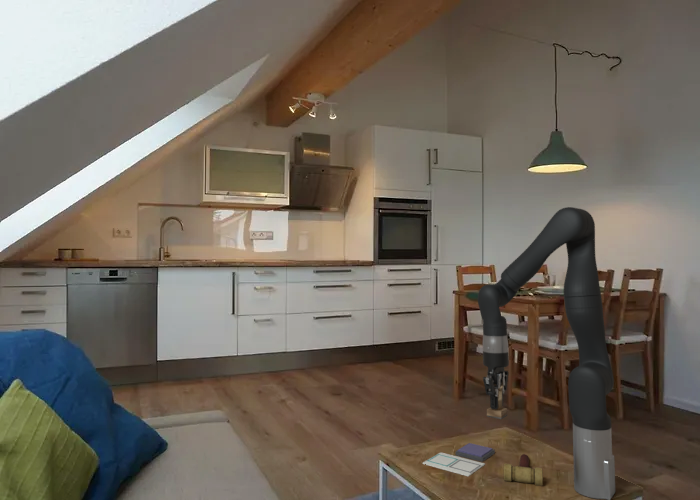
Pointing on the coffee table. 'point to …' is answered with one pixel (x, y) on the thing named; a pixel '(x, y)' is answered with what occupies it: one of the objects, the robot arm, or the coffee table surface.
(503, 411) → the stamp
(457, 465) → the sheet
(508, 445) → the coffee table surface
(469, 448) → the ink pad
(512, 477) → the gavel
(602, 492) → the robot arm
